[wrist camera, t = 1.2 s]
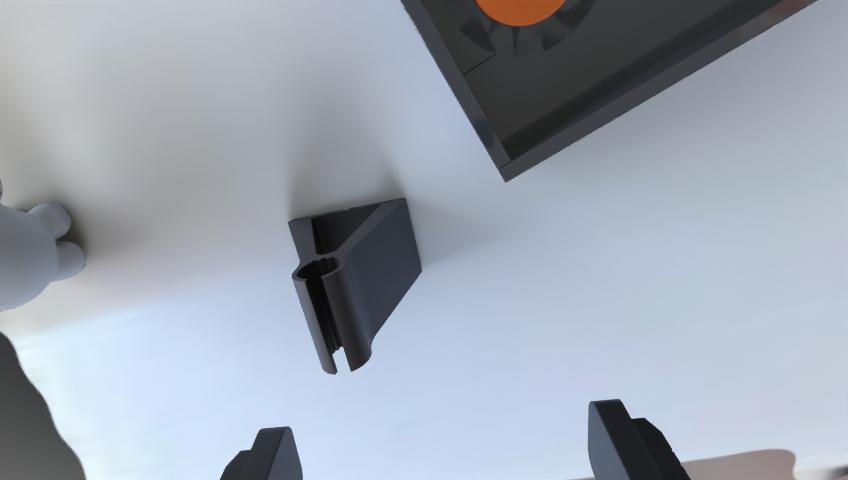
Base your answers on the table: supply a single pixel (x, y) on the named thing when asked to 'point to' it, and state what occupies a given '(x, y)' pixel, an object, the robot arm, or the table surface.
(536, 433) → the table surface
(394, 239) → the phone stand
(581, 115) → the dark grey tray
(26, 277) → the toy rhinoceros
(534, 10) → the plug
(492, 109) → the sink
